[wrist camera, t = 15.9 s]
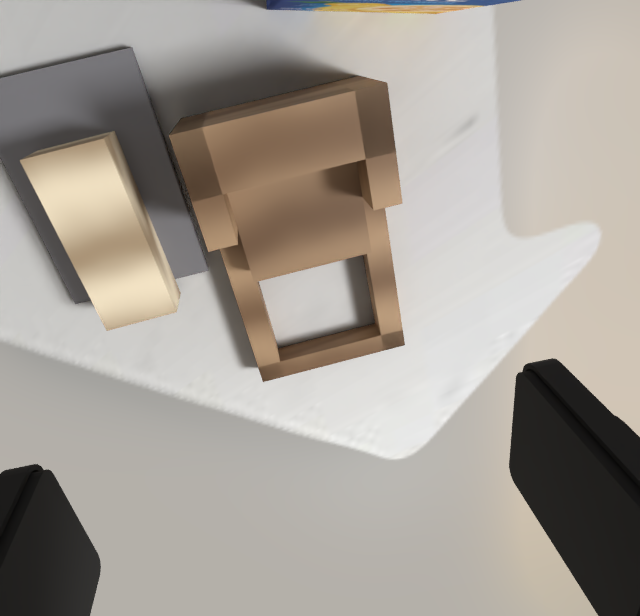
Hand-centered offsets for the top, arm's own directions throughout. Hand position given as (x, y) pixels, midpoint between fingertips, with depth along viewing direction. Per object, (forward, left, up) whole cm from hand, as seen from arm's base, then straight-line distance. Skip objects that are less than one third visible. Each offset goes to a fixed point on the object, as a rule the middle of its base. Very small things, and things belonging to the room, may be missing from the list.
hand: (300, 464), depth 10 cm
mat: (-1, -10, -28) cm, 30 cm away
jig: (+6, +2, -28) cm, 29 cm away
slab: (+2, -10, -28) cm, 29 cm away
